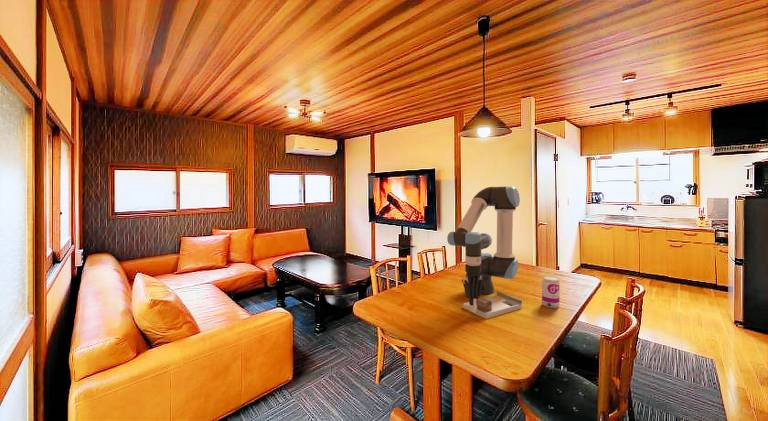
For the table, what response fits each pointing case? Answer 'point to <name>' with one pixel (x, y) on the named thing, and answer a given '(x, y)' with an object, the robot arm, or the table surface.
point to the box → (498, 305)
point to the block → (484, 305)
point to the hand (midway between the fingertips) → (473, 310)
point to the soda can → (550, 292)
